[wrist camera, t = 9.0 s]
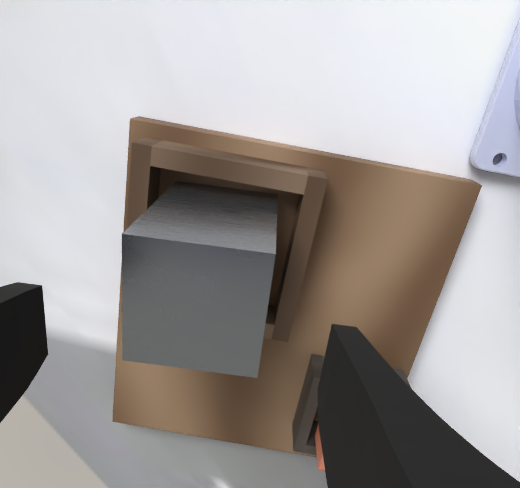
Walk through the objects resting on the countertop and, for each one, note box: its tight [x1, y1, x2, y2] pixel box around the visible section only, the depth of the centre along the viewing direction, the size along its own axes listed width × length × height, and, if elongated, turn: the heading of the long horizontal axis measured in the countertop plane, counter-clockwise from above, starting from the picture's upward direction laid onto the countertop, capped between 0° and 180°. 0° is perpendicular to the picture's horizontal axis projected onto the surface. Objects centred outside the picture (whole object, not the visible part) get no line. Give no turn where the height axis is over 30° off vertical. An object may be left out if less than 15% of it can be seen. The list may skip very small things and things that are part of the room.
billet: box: [122, 181, 278, 378], centre depth 14 cm, size 4×4×6 cm
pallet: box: [113, 117, 482, 457], centre depth 18 cm, size 14×15×3 cm
